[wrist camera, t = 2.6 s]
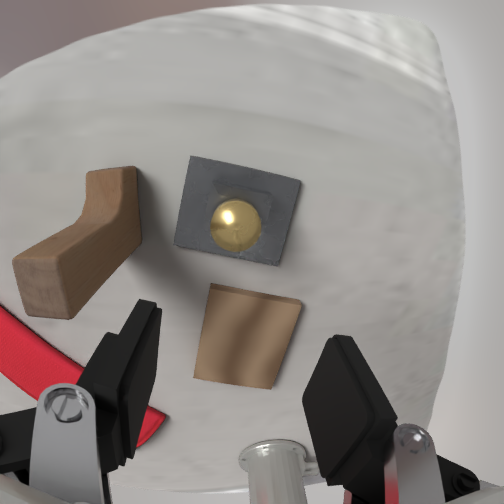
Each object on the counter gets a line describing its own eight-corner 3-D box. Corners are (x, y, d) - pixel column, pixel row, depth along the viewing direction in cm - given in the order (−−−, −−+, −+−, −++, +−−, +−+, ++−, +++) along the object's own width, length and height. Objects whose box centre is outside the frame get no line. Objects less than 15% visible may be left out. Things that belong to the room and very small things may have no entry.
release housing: (299, 180, 33) (308, 183, 29) (276, 263, 36) (282, 278, 32) (191, 155, 31) (185, 155, 27) (174, 242, 34) (167, 254, 30)
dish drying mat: (133, 447, 47) (129, 461, 43) (-33, 329, 37) (-43, 338, 34) (167, 410, 43) (164, 427, 40) (-27, 270, 34) (-40, 278, 31)
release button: (264, 204, 28) (266, 208, 26) (253, 249, 29) (254, 256, 27) (217, 194, 27) (215, 197, 25) (207, 239, 29) (205, 246, 27)
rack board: (299, 299, 37) (301, 305, 36) (270, 382, 42) (271, 389, 40) (210, 283, 36) (210, 288, 35) (194, 371, 40) (193, 377, 39)
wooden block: (101, 169, 31) (-2, 191, 14) (137, 165, 31) (47, 182, 14) (109, 244, 34) (25, 317, 17) (143, 243, 34) (73, 322, 17)
